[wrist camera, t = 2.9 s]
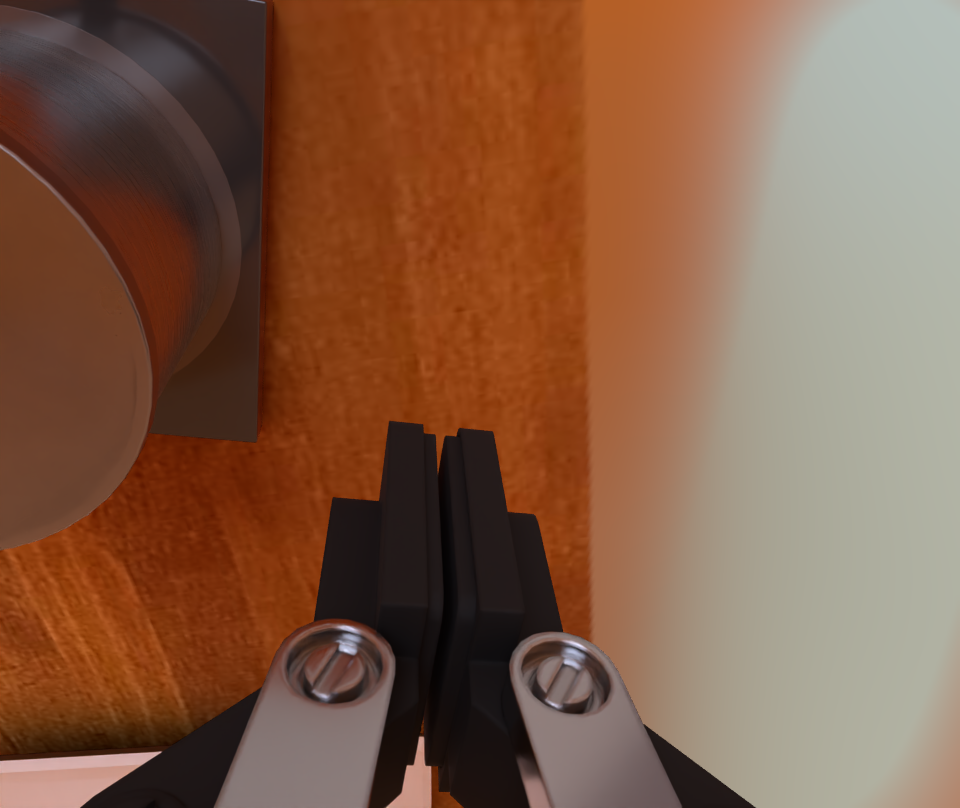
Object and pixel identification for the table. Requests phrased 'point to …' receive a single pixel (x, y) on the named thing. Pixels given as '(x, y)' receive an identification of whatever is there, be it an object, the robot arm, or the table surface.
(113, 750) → the plate
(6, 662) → the table surface
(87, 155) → the pot
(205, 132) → the hob
